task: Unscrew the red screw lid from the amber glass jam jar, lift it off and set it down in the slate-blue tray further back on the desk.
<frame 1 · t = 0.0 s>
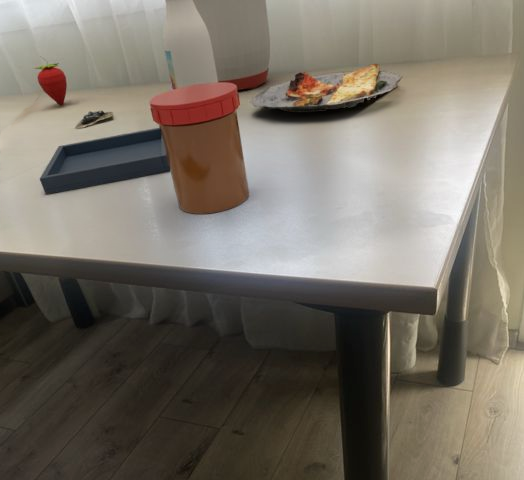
tray: (113, 165, 76), on the table
milk bottle: (201, 117, 92), on the table
lid: (193, 97, 53), point 11 cm above the table, screwed on, not yet turned
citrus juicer: (234, 88, 109), on the table
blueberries: (94, 123, 100), on the table
food plate: (327, 102, 88), on the table
strawberry: (61, 106, 119), on the table
jar: (214, 199, 59), on the table
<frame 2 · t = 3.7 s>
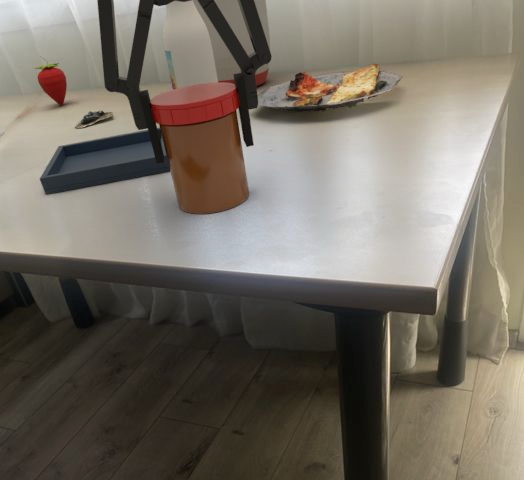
hand: (204, 150, 56), 5 cm above the table, tool pointing down, fingers closed on lid, 9 cm apart
lid: (193, 97, 53), point 11 cm above the table, screwed on, not yet turned, touching gripper
everything else where it was.
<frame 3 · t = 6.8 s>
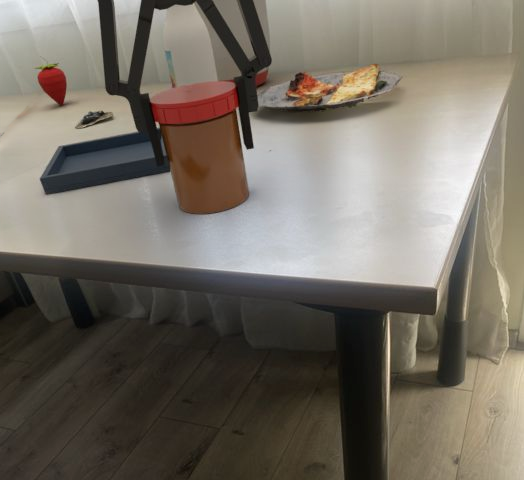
hand: (204, 153, 56), 5 cm above the table, tool pointing down, fingers closed on lid, 9 cm apart
lid: (193, 96, 53), point 11 cm above the table, turned 78° so far, risen 0.1 cm, still on its thread, touching gripper
everything else where it was.
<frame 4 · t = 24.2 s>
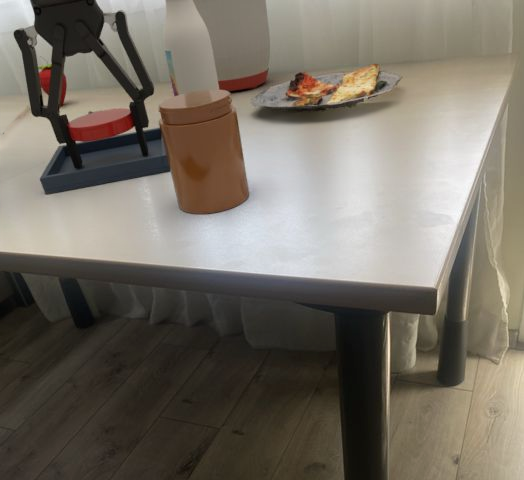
hand: (112, 158, 75), 1 cm above the table, tool pointing down, fingers closed on lid, 9 cm apart
lid: (100, 120, 72), point 6 cm above the table, off its thread, touching gripper
everything else where it was.
when the fingers open (3 cm above the table, at t = 36.5 s): lid drops 5 cm, resting on tray.
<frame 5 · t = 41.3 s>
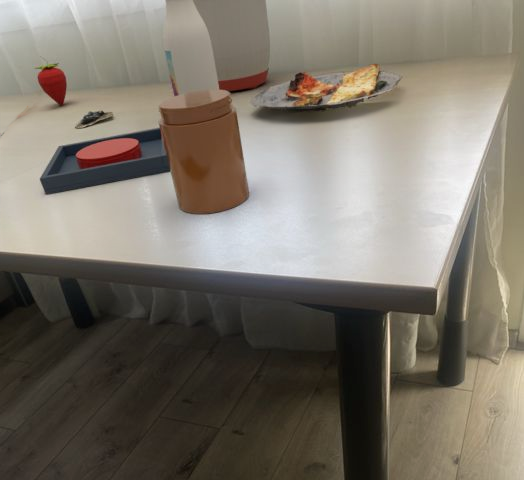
lid: (108, 150, 74), point 2 cm above the table, off its thread, touching tray
everything else where it was.
at the end: lid came off its thread; lid inside the target area in the tray (0.1 cm from its centre), point 2.0 cm above the tray's base; the gripper is holding nothing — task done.
